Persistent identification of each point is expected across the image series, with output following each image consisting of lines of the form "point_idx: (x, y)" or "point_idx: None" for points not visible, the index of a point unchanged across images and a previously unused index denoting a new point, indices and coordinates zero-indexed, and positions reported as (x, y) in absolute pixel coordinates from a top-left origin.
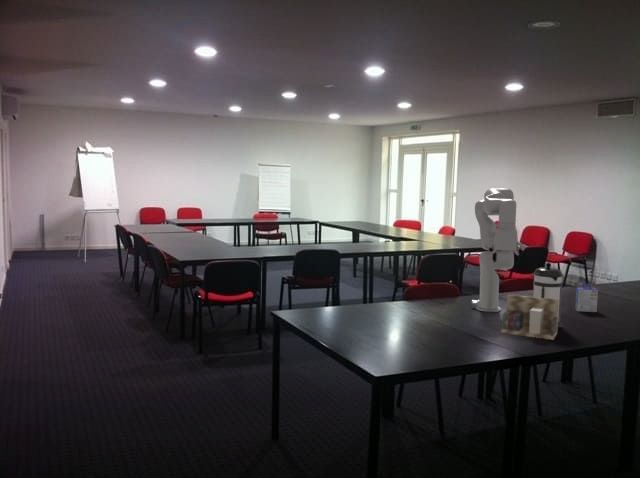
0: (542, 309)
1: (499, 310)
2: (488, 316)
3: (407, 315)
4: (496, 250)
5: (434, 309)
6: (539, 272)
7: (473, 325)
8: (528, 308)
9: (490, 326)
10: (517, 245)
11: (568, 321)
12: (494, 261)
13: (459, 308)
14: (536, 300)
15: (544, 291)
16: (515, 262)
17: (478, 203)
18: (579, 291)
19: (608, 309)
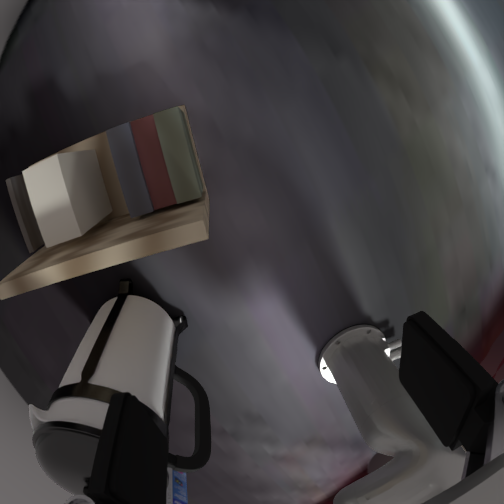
0: (35, 215)
1: (319, 360)
2: (323, 285)
3: (484, 122)
4: (495, 452)
5: (465, 238)
6: (93, 448)
7: (309, 128)
8: (108, 234)
9: (256, 159)
10: None
11: None
12: (413, 316)
13: (420, 302)
14: (64, 259)
15: (84, 367)
16: (117, 401)
17: None
18: (170, 499)
19: None
